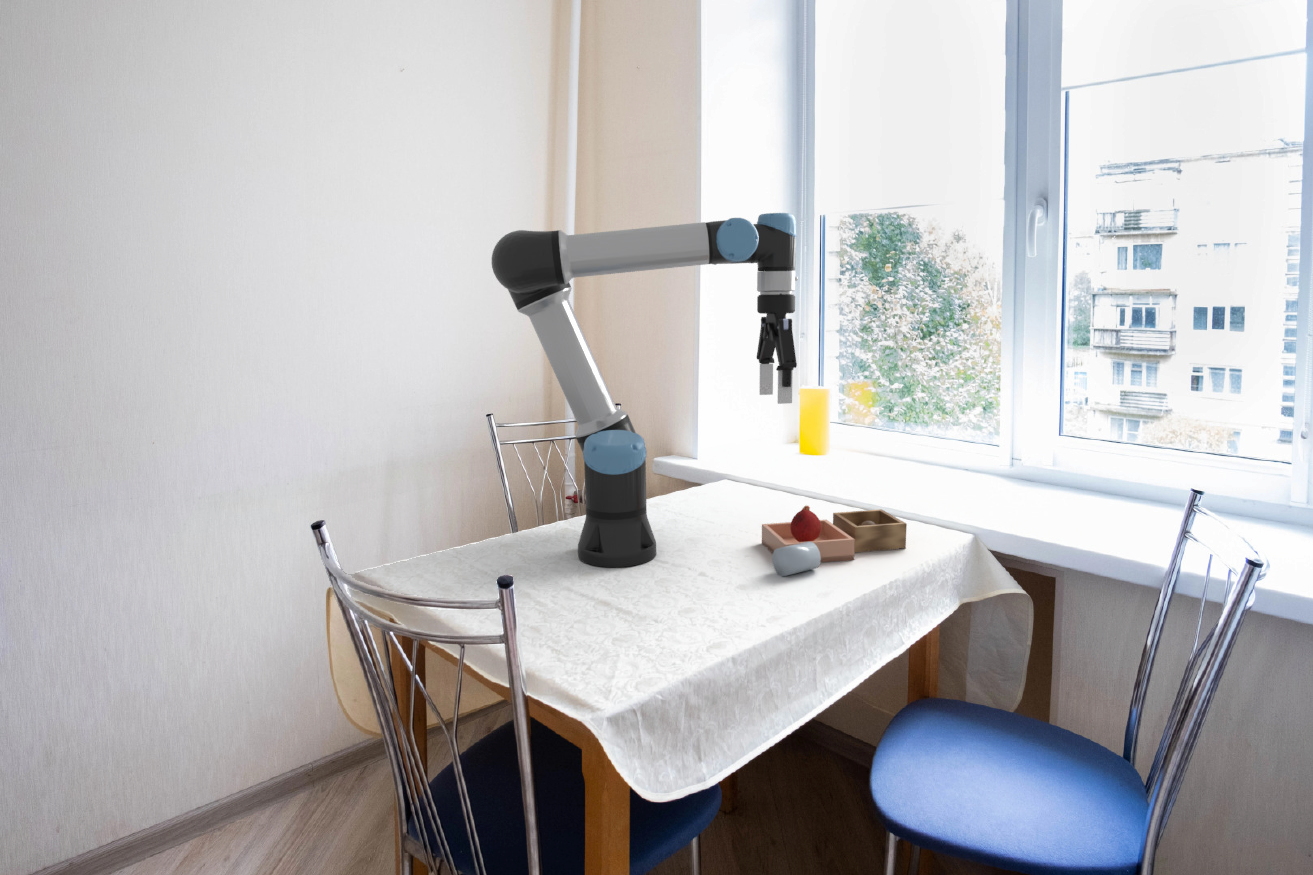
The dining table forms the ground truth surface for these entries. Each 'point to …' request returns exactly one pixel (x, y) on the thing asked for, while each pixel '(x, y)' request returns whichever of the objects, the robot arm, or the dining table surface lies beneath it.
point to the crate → (872, 530)
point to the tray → (829, 541)
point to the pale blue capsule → (796, 558)
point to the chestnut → (867, 523)
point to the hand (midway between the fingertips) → (775, 398)
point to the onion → (805, 525)
